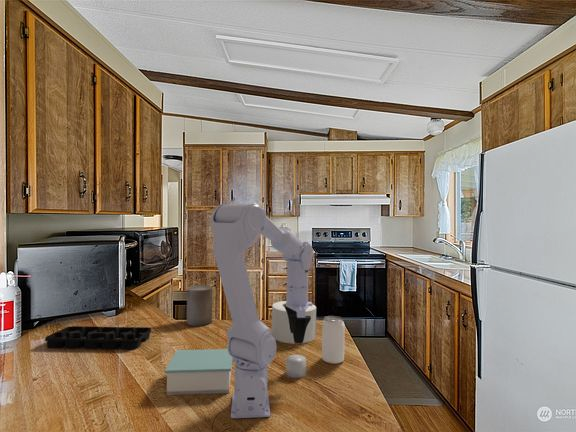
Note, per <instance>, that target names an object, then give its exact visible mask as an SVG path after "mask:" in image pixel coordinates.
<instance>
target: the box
mask: <svg viewBox="0 0 576 432" xmlns="http://www.w3.org/2000/svg"><path fill="white" fill-rule="evenodd" d="M232 370H233V367H232V368H231V371H226V372H192V373H166V396H177V395H178V396H181V395H182V396H185V395H187V396H188V395H209V394H210V395H211V394H212V395H213V394H230V387H231V386H230V385H231V379H232Z"/></svg>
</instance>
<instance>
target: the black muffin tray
mask: <svg viewBox="0 0 576 432" xmlns="http://www.w3.org/2000/svg"><path fill="white" fill-rule="evenodd" d="M151 333H152V327H144V326H143V327H140V326H139V327H137V326H136V327H135V326H128V327H127V326H85V325H82V326H81V325H79V326H78V325H72V326H71V325H70V326H67V327H64V328H62V329H60V330H58V331H55V332H53V333H51V334H49V335H47V336H45V338H44V339H45V340H44V341H45V342H46V347H47V349H62V348H64V347H65V349H68V350H77V349H82V348H84V349H85V350H98V349H101V348H102V350H108V351H109V350H110V351H114V350H118V349H121V350H123V351H134V350H137V349H139V348H140V347H141V344H142V343H145V342H147V341H148V340H149V339H150V335H151Z"/></svg>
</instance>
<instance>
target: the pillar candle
mask: <svg viewBox="0 0 576 432" xmlns="http://www.w3.org/2000/svg"><path fill="white" fill-rule="evenodd" d="M212 322H213V286H211V285H206V284H205V285H204V284H203V285H202V284H199V285H192V286H189V287H187V288H186V324H187V325H189V326H190V327H201V326H202V327H203V326H206V325H210V324H212Z"/></svg>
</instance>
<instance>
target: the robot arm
mask: <svg viewBox="0 0 576 432" xmlns="http://www.w3.org/2000/svg"><path fill="white" fill-rule="evenodd" d="M266 211H267V210H266V209H264V207H262V206H261V205H260V204H258V203H253V202H252V203H243V204H242V203H240V204H238V203H236V204H235V203H234V204H229V203H228V204H227V203H221V204H218V205H217V206H216V207H215V209H214V210H213V212H212V214H211V217H210V219H209V223H210V227H211V228H210V229H211V231H212V235H213V256H214V259H215V262H216V268H217V270H218V273H219V278H220V281H221V285H222V288H223V293H224V296H225V299H226V303H227V306H228V311H229V314H230V317H231V321H232V324H231V325H230V326H229V327H228V329H227V331H226V336H227V337H226V338H227V344H226V345H227V347H226V349H228V353H229V354H230V355H231V356H232V363H234V380H233V381H234V386H233V387H234V388H233V389H234V390H233V393H232V397H231V398H232V399H231V409H230V418H231V419H249V418H250V419H251V418H253V419H254V418H268V417H271V410H270V401H269V399H270V398H269V392H268V374H269V373H268V372H269V371H268V366H269V365H271V363H272V362H273V361H274V359H275V356H276V353H277V340H275V339H274V337H273V336H272V335H271V329H270V327H268V326H267V325H266V324H265V323H264V322H263V321H262V320H261V319H260V317H259V314H258V309H257V306H256V302H255V298H254V295H253V294H254V293H253V290H252V285H251V281H250V278H249V274H248V273H249V272H248V269H247V265H246V261H245V258H244V252H245V250H247V249H249V248H250V246H251V245H252V244H253V242H254V241H255V240H256V238H257V237H258V236H259V234H260V235H261V236H263V237H265V238H266V239H268V240H269V241H270V245H271V247H272V248H273V249H274V250H276V251H277V252H279V253H280V254H282V258H283V259H284V261H285V262H286V263H287V265H286V266H287V267H286V270H287V271H286V300H285V301H286V306H285V309H286V312H287V315H288V319H289V326H290V331H291V333H293V338H294V342H295V343H300V344H304V343H303V340H304V336H305V332H306V328H307V326H308V323H309V322H310V320H311V316H305V310H306V309H307V308H308V306H312V304H313V302H312V301H309V270H310V269H311V267H312V266H311V265H312V260H313V257H314V250H313V247H312V245H311V244H310V243H309V242H308V241H302V240H301V239H300V237H299V236H298V235H295V234H294V233H292V232H291V229H290V228H289V227H279V226H277V225H276V224H275V222H273V221H272V220H271V219H270V218H269V217H268V216H267V212H266Z"/></svg>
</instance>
